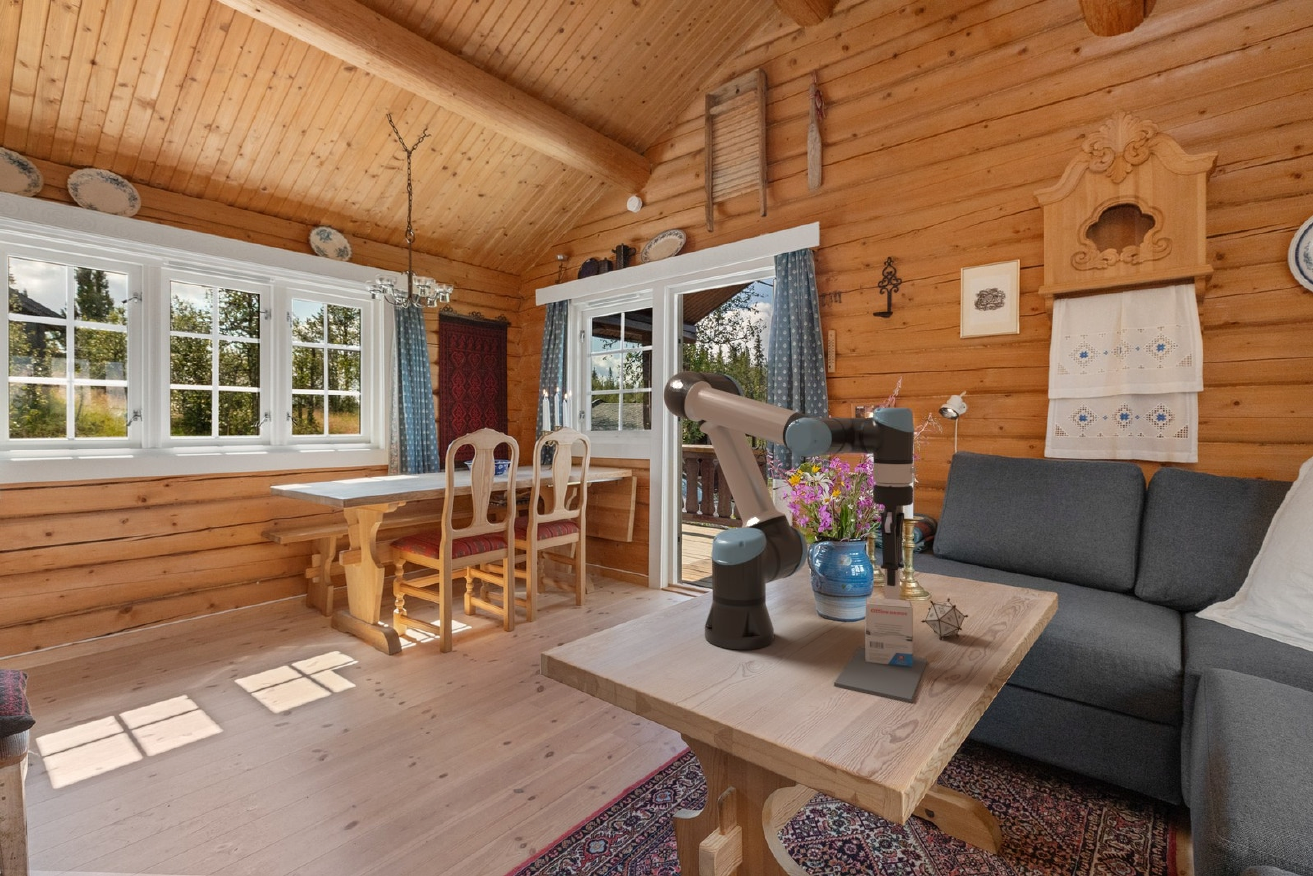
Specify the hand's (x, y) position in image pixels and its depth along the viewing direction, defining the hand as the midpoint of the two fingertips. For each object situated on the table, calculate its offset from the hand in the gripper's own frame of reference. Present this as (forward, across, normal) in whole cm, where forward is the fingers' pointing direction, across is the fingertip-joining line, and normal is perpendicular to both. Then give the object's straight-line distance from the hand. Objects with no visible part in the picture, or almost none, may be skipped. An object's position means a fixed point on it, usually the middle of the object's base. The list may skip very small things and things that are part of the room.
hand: (892, 600), depth 123 cm
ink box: (+11, -5, 0) cm, 12 cm away
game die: (+12, +17, -8) cm, 22 cm away
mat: (+11, -10, 0) cm, 15 cm away
